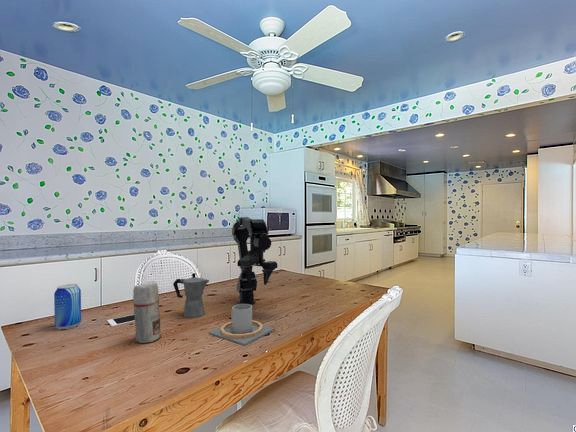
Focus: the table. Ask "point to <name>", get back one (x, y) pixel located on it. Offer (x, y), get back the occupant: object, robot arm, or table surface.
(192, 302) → the coffeepot
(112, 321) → the cell phone
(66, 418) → the table surface
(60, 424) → the table surface
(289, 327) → the table surface
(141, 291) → the spray can
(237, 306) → the cup
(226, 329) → the collar mat
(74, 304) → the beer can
